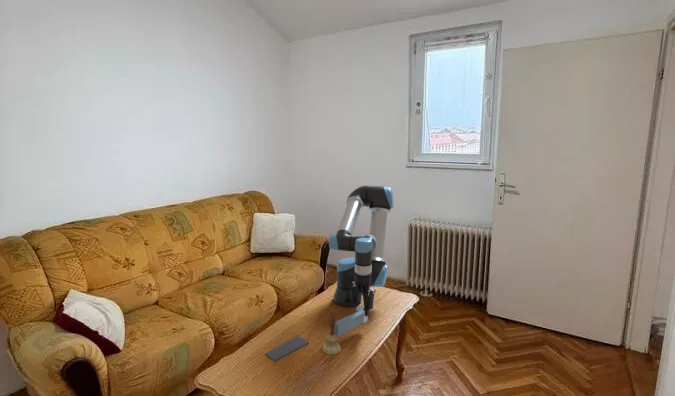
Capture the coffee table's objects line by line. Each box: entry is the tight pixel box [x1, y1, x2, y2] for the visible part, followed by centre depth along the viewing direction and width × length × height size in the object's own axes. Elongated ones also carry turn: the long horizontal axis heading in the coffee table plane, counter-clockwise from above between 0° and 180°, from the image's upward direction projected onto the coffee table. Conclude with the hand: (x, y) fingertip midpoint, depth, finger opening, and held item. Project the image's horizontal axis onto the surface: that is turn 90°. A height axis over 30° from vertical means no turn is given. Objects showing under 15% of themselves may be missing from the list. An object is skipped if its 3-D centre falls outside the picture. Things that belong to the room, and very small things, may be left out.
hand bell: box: [321, 313, 342, 355], centre depth 157 cm, size 8×8×16 cm
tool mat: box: [264, 335, 310, 362], centre depth 158 cm, size 18×7×1 cm, turn 135°
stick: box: [334, 307, 364, 337], centre depth 165 cm, size 20×3×5 cm, turn 135°
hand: (361, 320), depth 171 cm, fingers closed on stick, 3 cm apart
